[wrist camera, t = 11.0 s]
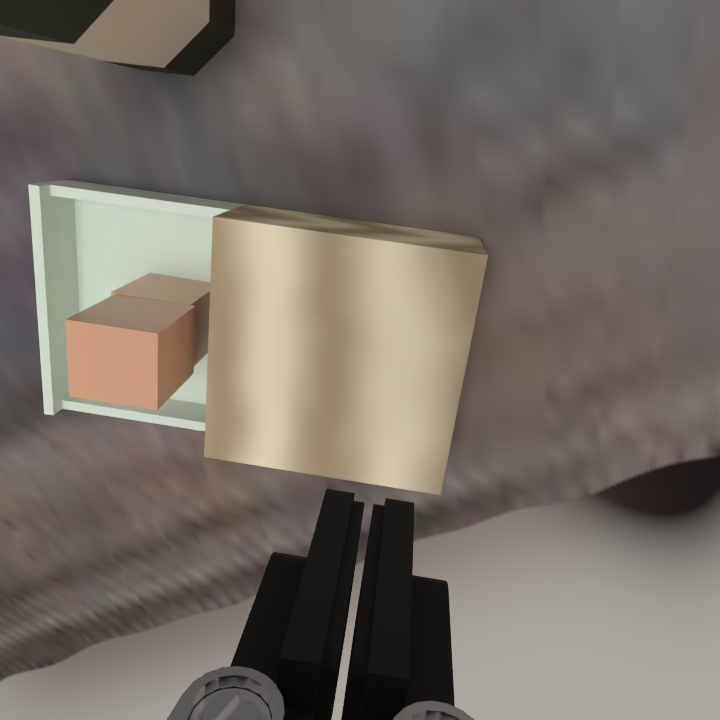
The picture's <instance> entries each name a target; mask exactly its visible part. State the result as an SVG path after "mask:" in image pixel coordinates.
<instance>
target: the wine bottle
mask: <svg viewBox="0 0 720 720" xmlns="http://www.w3.org/2000/svg"><path fill="white" fill-rule="evenodd" d="M234 29H235V0H0V37H4V38H8V39H12V40H16V41H21V42H25V43H29V44H33V45H38V46H42V47H46V48H50V49H55V50H59V51H63V52H67V53H72V54H76V55H80V56H84V57H89V58H93V59H97V60H101V61H106V62H110V63H114V64H118V65H123V66H127V67H131V68H135V69H140V70H149V71H158V72H166V73H175V74H183V75H192V76H194V75H195V74H196V73H197V72H198V71H199V70H200V69H201V68H202V67H203V66H204V65H205V64H206V63H207V62H208V61H209V60H210V59H211V58H212V57H213V56H214V55H215V54H216V53H217V52H218V51H219V50H220V49H221V48H222V47H223V46H224V45H225V44H226V43H227V42H228V41H229V40H230V39H231V38H232V37H233V36H234Z"/></svg>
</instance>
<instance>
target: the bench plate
mask: <svg viewBox="0 0 720 720" xmlns="http://www.w3.org/2000/svg"><path fill="white" fill-rule="evenodd" d="M487 259H488V254H487V252H486V250H485V248H484V247H483V245H482V243H481V241H480V239H479V237H476V236H469V235H462V234H454V233H447V232H440V231H433V230H426V229H419V228H411V227H404V226H397V225H390V224H383V223H376V222H368V221H361V220H354V219H347V218H340V217H333V216H325V215H318V214H311V213H304V212H297V211H290V210H282V209H275V208H268V207H261V206H254V205H247V204H245V205H242V206H240V207H237V208H234V209H232V210H229V211H226V212H224V213H221V214H218V215H216V216H213V224H212V252H211V280H210V308H209V336H208V363H207V391H206V419H205V447H204V457H208V458H214V459H220V460H226V461H232V462H239V463H245V464H251V465H257V466H263V467H270V468H276V469H282V470H288V471H294V472H301V473H307V474H313V475H319V476H325V477H332V478H338V479H344V480H350V481H356V482H362V483H369V484H375V485H381V486H387V487H393V488H400V489H406V490H412V491H418V492H424V493H431V494H437V495H441V490H442V485H443V480H444V475H445V470H446V465H447V460H448V455H449V450H450V445H451V440H452V435H453V430H454V425H455V420H456V415H457V410H458V405H459V400H460V395H461V390H462V385H463V380H464V375H465V370H466V365H467V360H468V355H469V350H470V345H471V340H472V335H473V330H474V324H475V319H476V314H477V309H478V304H479V299H480V294H481V289H482V284H483V279H484V274H485V269H486V264H487Z"/></svg>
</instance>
